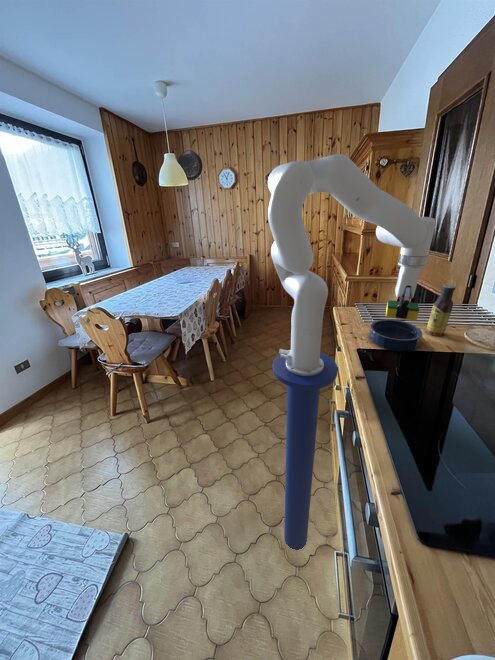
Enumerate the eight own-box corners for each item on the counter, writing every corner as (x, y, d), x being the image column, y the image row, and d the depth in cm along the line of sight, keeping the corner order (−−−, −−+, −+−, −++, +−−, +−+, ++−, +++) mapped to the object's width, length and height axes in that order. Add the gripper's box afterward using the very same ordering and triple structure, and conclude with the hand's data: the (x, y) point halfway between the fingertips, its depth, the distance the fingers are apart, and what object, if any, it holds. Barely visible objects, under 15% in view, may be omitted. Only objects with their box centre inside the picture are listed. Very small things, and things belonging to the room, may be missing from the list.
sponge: (385, 317, 94) (388, 306, 93) (385, 310, 99) (388, 300, 98) (416, 320, 91) (419, 309, 89) (414, 313, 96) (417, 302, 94)
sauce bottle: (423, 329, 116) (435, 282, 107) (440, 330, 115) (454, 282, 106) (429, 336, 110) (442, 288, 102) (446, 337, 109) (462, 288, 100)
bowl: (366, 347, 105) (368, 335, 103) (370, 327, 120) (371, 317, 117) (420, 356, 98) (424, 343, 96) (417, 334, 113) (420, 323, 110)
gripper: (398, 254, 95) (388, 303, 103) (400, 266, 81) (388, 322, 89) (423, 255, 93) (411, 306, 101) (430, 267, 79) (415, 325, 87)
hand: (400, 313), depth 95 cm, fingers closed on sponge, 6 cm apart
